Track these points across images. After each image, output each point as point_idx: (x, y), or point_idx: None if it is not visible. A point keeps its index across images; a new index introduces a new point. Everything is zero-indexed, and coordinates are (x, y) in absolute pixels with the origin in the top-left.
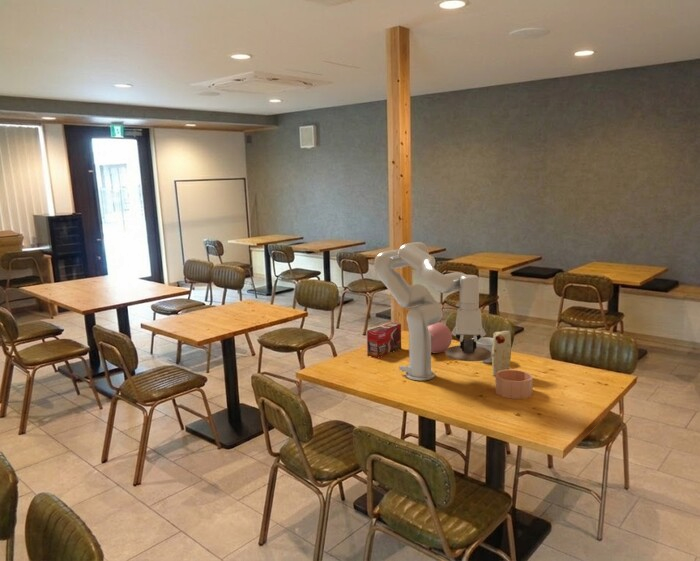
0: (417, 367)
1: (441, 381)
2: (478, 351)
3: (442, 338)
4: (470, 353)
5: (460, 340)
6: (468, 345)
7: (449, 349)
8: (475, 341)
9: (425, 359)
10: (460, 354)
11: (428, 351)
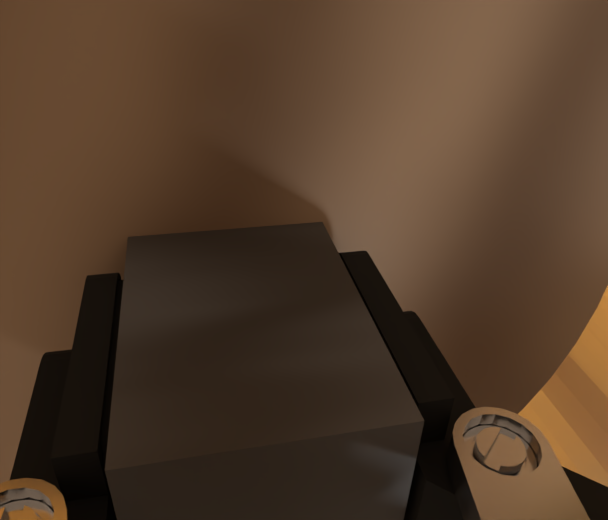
0: (604, 296)
1: None
2: (23, 365)
3: None
4: (180, 216)
5: (510, 440)
6: (250, 339)
7: (529, 349)
8: (26, 501)
9: (586, 357)
10: (400, 113)
11: (602, 430)
